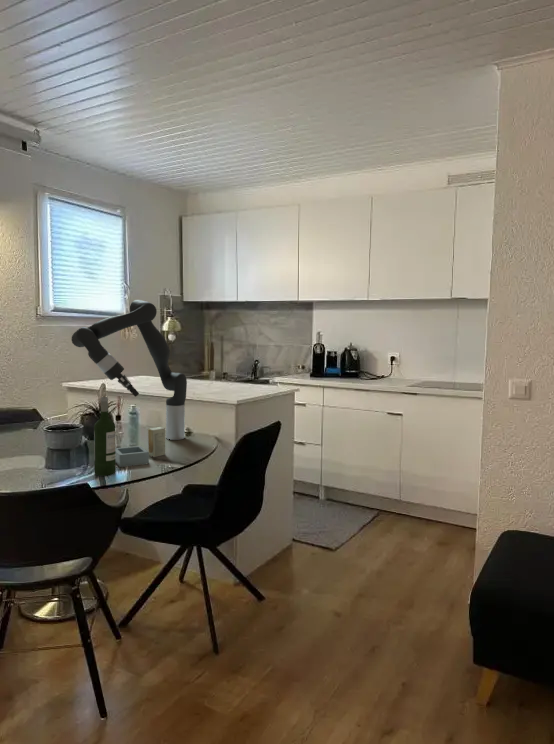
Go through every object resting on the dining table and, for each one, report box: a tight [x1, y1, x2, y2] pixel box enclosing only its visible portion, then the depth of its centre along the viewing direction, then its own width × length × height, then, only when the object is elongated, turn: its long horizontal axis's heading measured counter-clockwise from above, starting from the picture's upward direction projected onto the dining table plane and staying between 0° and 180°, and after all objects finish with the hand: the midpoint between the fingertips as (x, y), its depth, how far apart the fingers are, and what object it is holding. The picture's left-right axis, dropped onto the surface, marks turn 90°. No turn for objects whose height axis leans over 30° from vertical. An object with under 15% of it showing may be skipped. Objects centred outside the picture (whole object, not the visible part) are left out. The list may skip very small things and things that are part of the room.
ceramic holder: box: [115, 445, 150, 468], centre depth 227 cm, size 12×12×5 cm
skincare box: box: [147, 426, 166, 458], centre depth 239 cm, size 6×4×12 cm
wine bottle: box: [93, 396, 117, 477], centre depth 209 cm, size 8×8×30 cm
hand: (136, 394), depth 234 cm, fingers open, 8 cm apart
